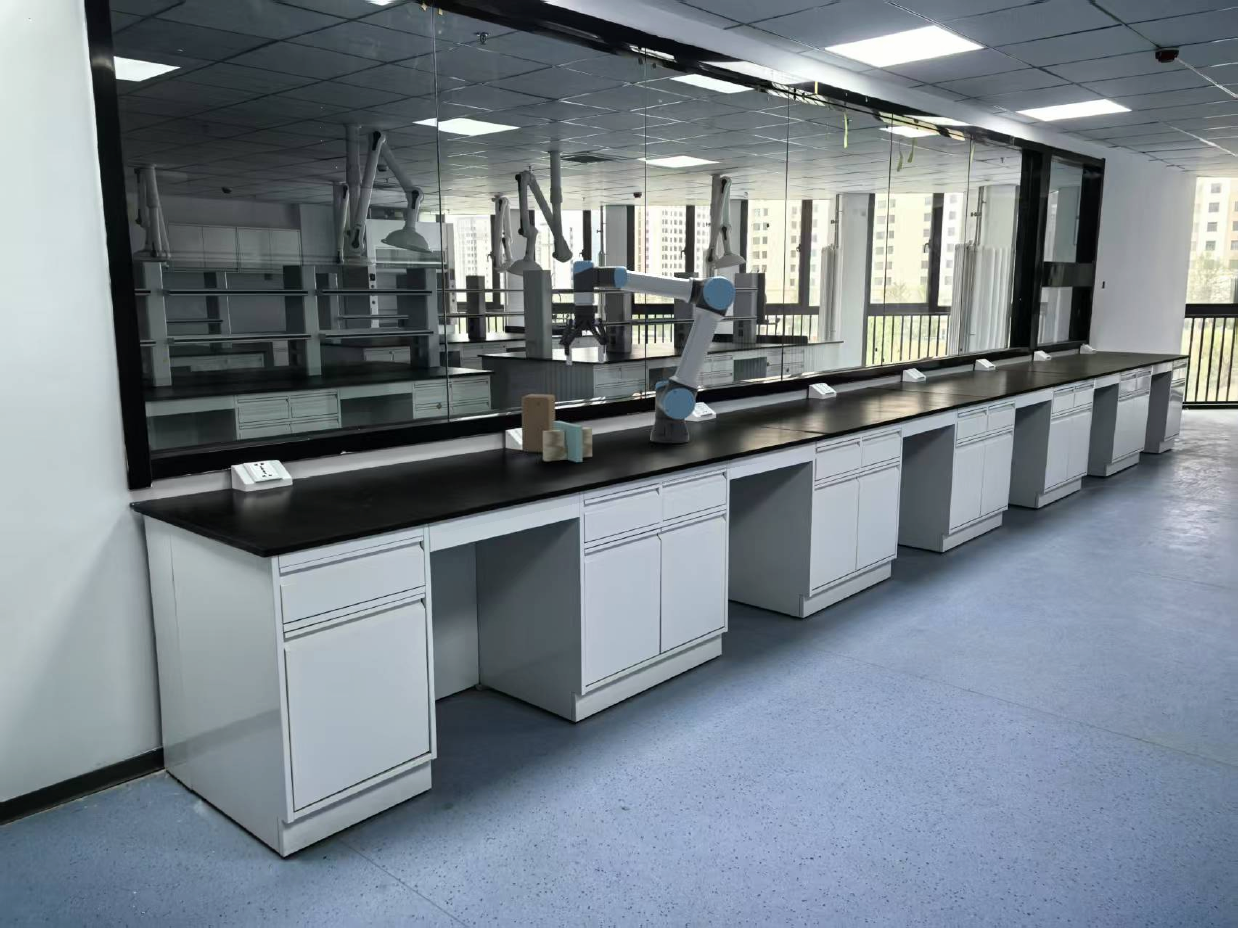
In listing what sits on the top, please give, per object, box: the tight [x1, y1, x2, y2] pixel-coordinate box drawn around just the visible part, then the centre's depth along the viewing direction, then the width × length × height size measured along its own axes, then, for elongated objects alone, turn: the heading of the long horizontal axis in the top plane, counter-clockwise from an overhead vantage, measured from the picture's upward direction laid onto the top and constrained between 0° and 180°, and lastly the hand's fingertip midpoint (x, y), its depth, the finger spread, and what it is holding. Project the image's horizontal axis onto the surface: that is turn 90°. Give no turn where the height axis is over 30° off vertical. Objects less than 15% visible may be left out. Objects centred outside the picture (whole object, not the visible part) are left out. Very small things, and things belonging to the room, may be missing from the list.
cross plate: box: [553, 420, 583, 463], centre depth 305 cm, size 16×2×12 cm, turn 32°
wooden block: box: [521, 393, 556, 454], centre depth 320 cm, size 10×10×20 cm
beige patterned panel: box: [542, 427, 593, 462], centre depth 305 cm, size 18×2×10 cm, turn 122°
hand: (585, 364), depth 324 cm, fingers open, 13 cm apart
